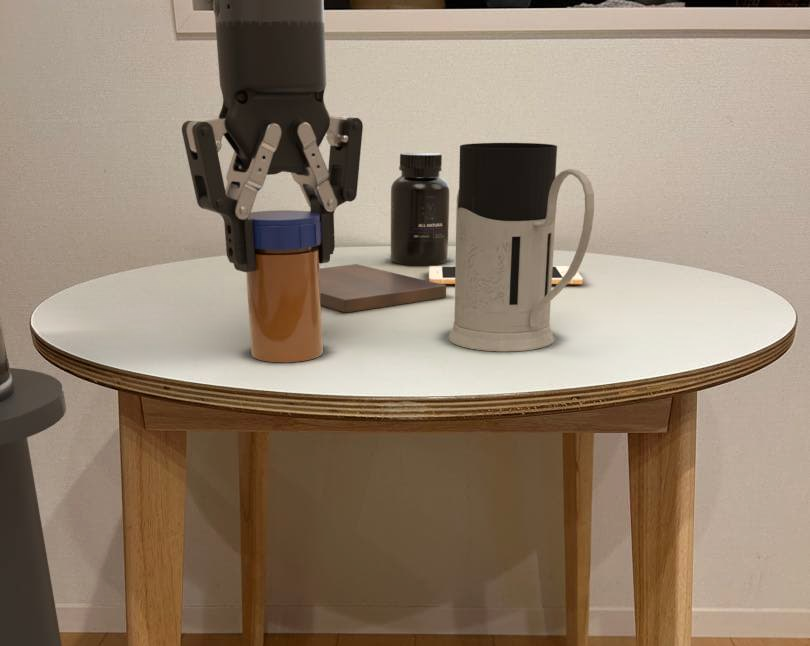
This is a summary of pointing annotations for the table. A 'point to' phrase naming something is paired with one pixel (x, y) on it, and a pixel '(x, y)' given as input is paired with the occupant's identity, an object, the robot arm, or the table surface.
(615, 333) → the table surface
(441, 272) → the cell phone
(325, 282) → the serving board
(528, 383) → the table surface
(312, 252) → the jar
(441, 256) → the supplement bottle
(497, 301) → the glass holder
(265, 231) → the jar lid
